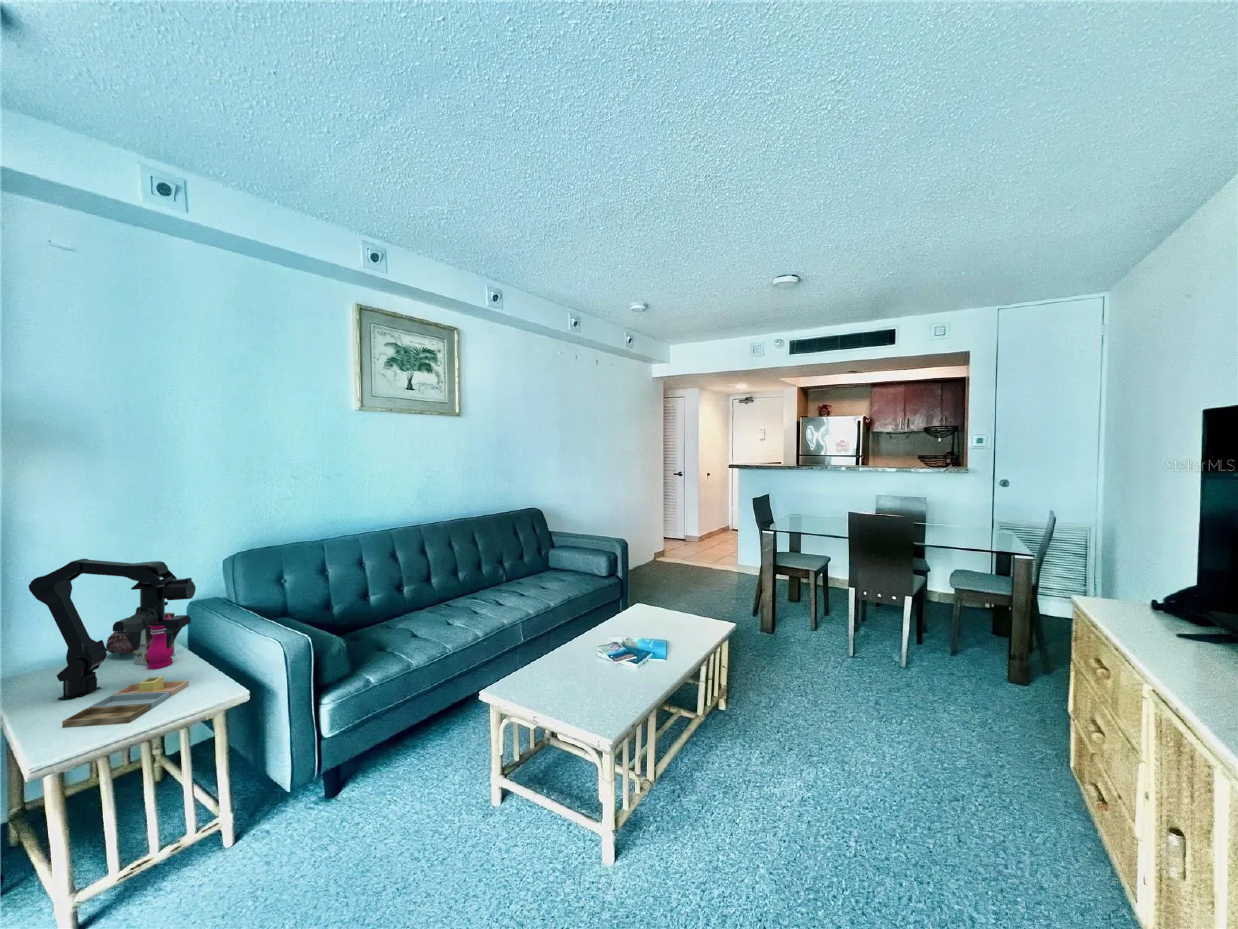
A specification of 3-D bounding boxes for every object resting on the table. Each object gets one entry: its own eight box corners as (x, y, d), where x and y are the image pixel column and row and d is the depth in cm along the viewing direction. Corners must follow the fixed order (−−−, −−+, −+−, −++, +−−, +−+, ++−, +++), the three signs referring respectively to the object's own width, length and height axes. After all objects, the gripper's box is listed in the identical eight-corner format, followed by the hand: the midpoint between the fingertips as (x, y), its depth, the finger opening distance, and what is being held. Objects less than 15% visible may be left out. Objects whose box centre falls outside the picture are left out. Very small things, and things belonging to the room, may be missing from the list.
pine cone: (149, 656, 177) (149, 630, 177) (110, 666, 169) (110, 638, 169) (139, 645, 188) (139, 620, 188) (102, 653, 180) (102, 627, 180)
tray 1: (62, 729, 129) (62, 721, 129) (87, 715, 136) (86, 708, 136) (129, 724, 132) (129, 716, 132) (150, 711, 139) (150, 704, 139)
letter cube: (138, 696, 147) (138, 683, 147) (149, 690, 151) (149, 677, 151) (153, 695, 147) (153, 682, 147) (163, 689, 151) (163, 676, 151)
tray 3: (112, 701, 144) (112, 694, 144) (132, 690, 151) (132, 683, 151) (171, 698, 147) (171, 690, 147) (188, 687, 154) (188, 680, 154)
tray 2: (88, 714, 137) (88, 707, 137) (110, 702, 144) (110, 695, 144) (151, 710, 139) (151, 703, 139) (170, 698, 146) (170, 691, 146)
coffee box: (147, 665, 170) (146, 620, 169) (133, 664, 171) (133, 619, 171) (175, 655, 178) (175, 612, 178) (162, 654, 180) (162, 611, 180)
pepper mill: (146, 672, 164) (146, 614, 164) (145, 665, 169) (145, 610, 169) (175, 665, 170) (174, 609, 170) (172, 659, 175) (172, 605, 175)
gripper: (96, 610, 145) (96, 661, 145) (165, 607, 148) (165, 657, 148) (128, 599, 156) (128, 647, 156) (191, 597, 159) (192, 644, 159)
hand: (152, 649), depth 154 cm, fingers open, 9 cm apart
